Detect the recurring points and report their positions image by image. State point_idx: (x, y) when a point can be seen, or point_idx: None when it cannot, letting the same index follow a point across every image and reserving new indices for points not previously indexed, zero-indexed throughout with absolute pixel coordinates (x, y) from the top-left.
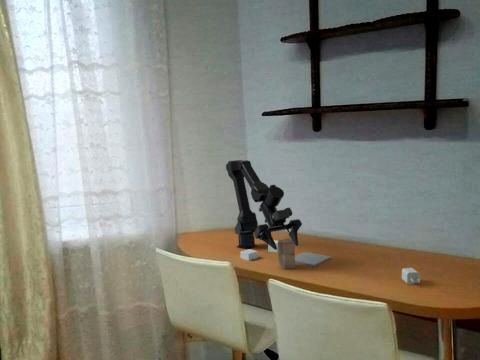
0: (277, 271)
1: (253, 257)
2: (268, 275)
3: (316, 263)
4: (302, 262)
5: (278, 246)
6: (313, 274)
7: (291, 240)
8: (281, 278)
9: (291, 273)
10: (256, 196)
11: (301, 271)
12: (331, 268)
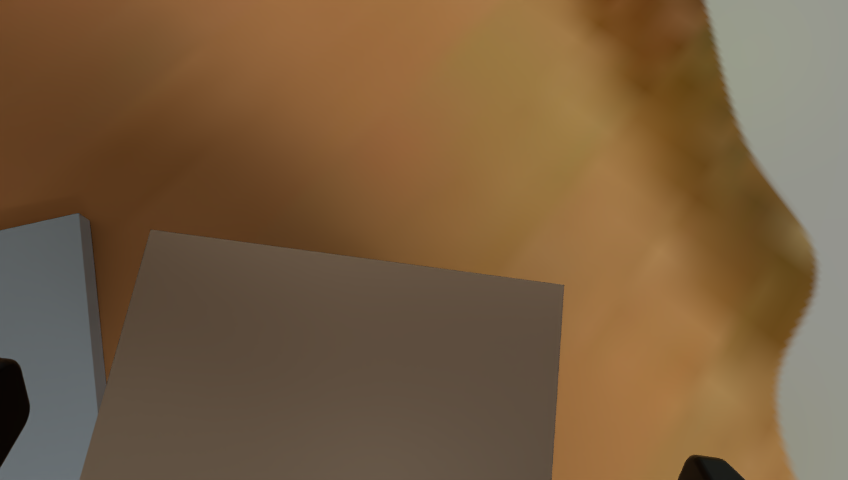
0: (601, 383)
1: None
2: (785, 334)
3: (7, 230)
4: (97, 405)
5: None
6: (325, 28)
7: (123, 396)
8: (699, 151)
9: (499, 204)
10: None
11: (354, 181)
12: (15, 39)
